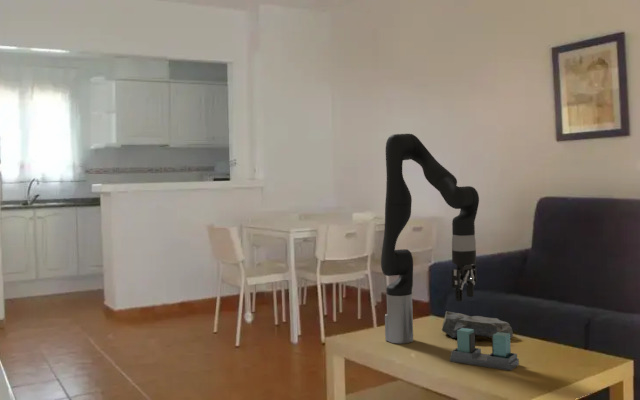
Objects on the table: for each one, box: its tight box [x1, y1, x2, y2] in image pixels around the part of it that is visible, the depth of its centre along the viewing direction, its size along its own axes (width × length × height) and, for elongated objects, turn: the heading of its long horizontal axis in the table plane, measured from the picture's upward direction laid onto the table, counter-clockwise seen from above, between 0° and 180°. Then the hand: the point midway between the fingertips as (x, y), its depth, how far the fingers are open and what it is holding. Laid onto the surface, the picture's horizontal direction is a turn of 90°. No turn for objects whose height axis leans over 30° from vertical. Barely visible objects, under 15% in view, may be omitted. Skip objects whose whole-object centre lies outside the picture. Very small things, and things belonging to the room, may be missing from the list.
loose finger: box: [456, 328, 476, 353], centre depth 217 cm, size 4×4×8 cm
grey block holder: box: [449, 332, 520, 371], centre depth 214 cm, size 20×7×10 cm, turn 54°
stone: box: [441, 310, 514, 339], centre depth 250 cm, size 24×8×25 cm
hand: (464, 298), depth 217 cm, fingers open, 8 cm apart
